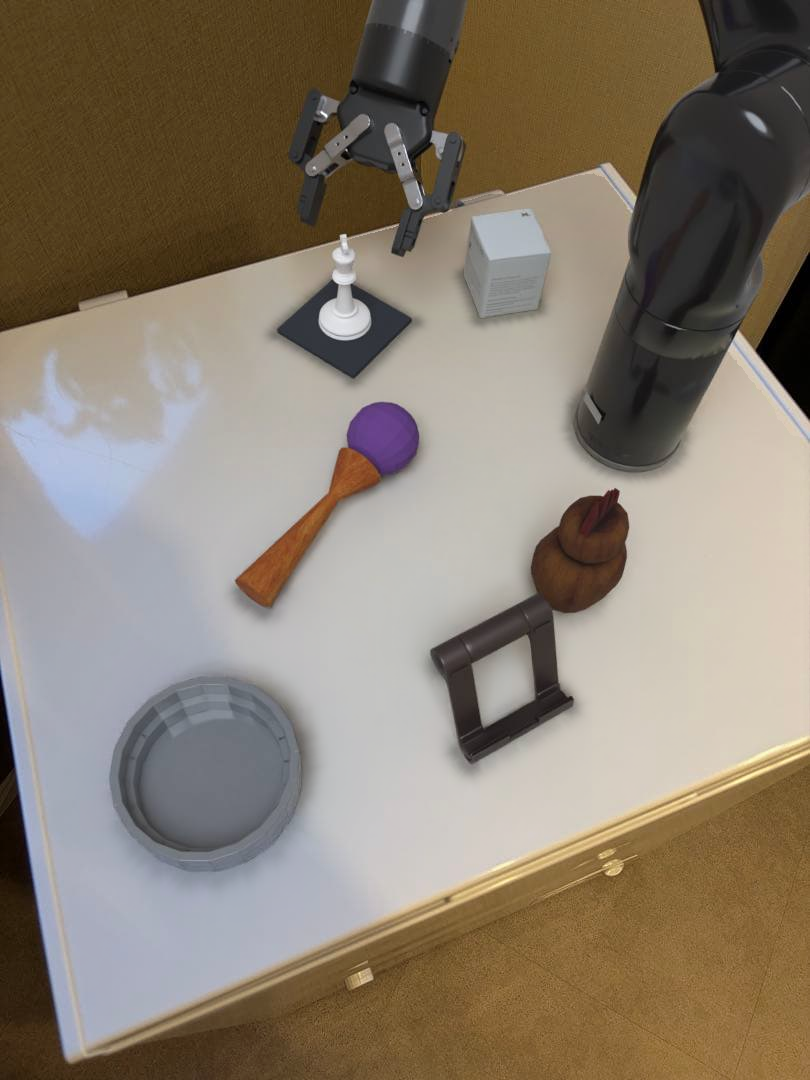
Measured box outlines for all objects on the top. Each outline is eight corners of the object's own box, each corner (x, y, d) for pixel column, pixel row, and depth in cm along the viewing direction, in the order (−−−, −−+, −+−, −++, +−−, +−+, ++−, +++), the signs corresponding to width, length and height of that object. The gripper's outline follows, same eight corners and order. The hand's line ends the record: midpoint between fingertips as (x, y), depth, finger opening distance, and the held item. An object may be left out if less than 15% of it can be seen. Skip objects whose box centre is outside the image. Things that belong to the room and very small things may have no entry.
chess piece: (323, 343, 82) (319, 259, 73) (314, 304, 84) (310, 219, 75) (375, 337, 82) (378, 253, 74) (366, 299, 85) (367, 213, 76)
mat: (337, 278, 87) (337, 274, 86) (411, 321, 84) (412, 317, 84) (277, 332, 83) (276, 328, 82) (353, 379, 80) (353, 375, 80)
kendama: (210, 556, 66) (369, 377, 73) (235, 594, 71) (381, 423, 78) (270, 592, 64) (428, 403, 71) (291, 629, 69) (437, 449, 76)
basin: (208, 665, 66) (199, 644, 63) (337, 763, 63) (335, 746, 59) (86, 798, 61) (69, 782, 57) (219, 912, 58) (211, 903, 54)
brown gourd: (550, 636, 69) (595, 538, 56) (511, 577, 71) (546, 470, 58) (622, 601, 70) (682, 499, 57) (582, 544, 73) (630, 434, 60)
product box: (461, 274, 88) (469, 214, 81) (520, 266, 89) (532, 205, 82) (478, 320, 85) (488, 260, 78) (539, 310, 86) (554, 251, 79)
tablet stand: (468, 769, 63) (483, 732, 56) (412, 677, 66) (419, 631, 59) (569, 710, 66) (595, 668, 58) (511, 625, 69) (529, 575, 62)
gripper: (315, -1, 70) (260, 208, 74) (485, 48, 67) (418, 261, 72) (344, 31, 77) (293, 221, 81) (499, 77, 74) (437, 269, 79)
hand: (352, 240), depth 76 cm, fingers open, 8 cm apart
